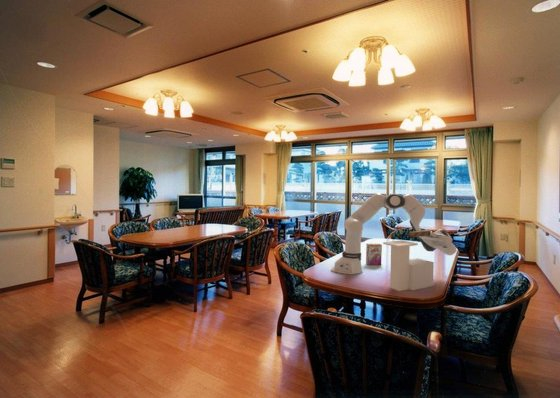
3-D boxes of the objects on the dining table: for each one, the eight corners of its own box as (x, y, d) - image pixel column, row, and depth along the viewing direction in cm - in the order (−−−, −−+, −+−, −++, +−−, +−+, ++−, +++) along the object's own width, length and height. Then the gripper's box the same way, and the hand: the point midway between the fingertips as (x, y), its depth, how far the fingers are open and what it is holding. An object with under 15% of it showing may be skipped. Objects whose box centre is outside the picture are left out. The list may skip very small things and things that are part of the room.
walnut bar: (413, 237, 196) (413, 232, 196) (409, 236, 198) (409, 231, 198) (432, 235, 204) (432, 230, 204) (428, 234, 207) (428, 229, 207)
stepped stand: (397, 293, 185) (398, 245, 184) (382, 287, 196) (383, 242, 194) (433, 285, 199) (434, 241, 198) (416, 280, 210) (417, 238, 209)
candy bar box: (367, 265, 251) (368, 244, 250) (365, 263, 256) (366, 243, 255) (381, 265, 251) (382, 244, 251) (379, 263, 256) (379, 243, 256)
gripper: (426, 234, 219) (415, 225, 213) (455, 239, 201) (443, 229, 195) (423, 243, 218) (411, 234, 212) (451, 248, 200) (439, 238, 194)
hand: (426, 232), depth 204 cm, fingers closed on walnut bar, 3 cm apart
